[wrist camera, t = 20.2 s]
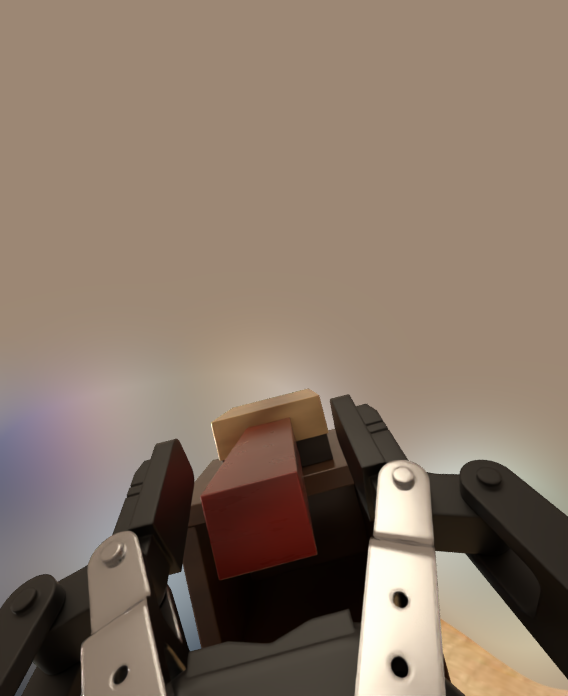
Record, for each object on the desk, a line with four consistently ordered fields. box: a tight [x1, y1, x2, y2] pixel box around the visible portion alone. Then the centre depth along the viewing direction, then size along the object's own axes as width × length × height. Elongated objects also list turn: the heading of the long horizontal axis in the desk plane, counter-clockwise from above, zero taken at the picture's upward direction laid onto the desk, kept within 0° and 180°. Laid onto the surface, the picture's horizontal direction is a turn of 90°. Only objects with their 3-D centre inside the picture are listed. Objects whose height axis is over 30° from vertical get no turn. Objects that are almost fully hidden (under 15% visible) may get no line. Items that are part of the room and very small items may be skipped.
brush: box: [200, 389, 333, 580], centre depth 17 cm, size 6×18×4 cm, turn 0°
